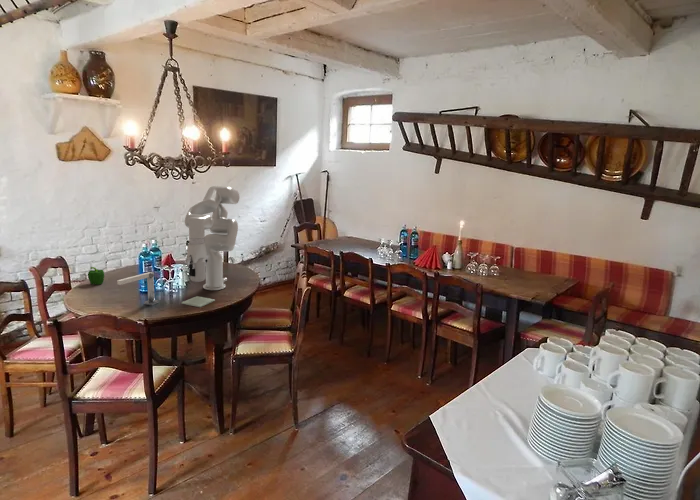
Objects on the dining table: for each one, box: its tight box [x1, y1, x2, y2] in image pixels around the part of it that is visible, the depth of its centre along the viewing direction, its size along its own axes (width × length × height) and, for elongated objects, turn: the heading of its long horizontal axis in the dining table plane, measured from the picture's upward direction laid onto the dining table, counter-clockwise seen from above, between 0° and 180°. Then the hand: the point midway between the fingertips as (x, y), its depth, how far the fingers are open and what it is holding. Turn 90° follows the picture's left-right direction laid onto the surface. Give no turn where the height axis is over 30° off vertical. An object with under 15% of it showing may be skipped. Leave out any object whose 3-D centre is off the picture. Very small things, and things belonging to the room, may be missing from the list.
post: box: [143, 276, 160, 306], centre depth 231 cm, size 5×5×14 cm
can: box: [189, 258, 206, 283], centre depth 234 cm, size 8×8×12 cm
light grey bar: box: [116, 271, 155, 286], centre depth 222 cm, size 20×4×2 cm, turn 154°
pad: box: [181, 295, 216, 308], centre depth 238 cm, size 12×12×1 cm
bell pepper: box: [87, 266, 105, 286], centre depth 259 cm, size 8×8×10 cm
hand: (197, 274), depth 235 cm, fingers closed on can, 7 cm apart
